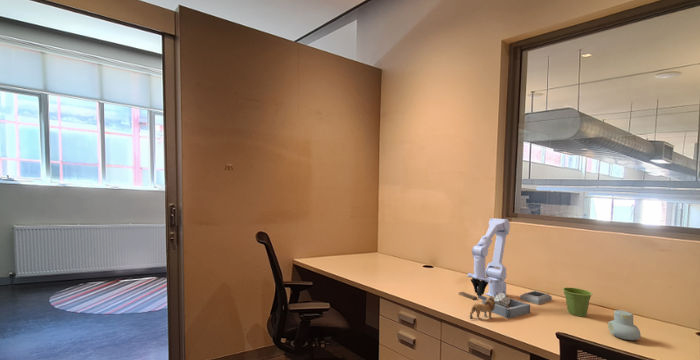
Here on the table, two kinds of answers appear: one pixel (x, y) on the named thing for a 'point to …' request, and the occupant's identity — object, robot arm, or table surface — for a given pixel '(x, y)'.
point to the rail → (467, 295)
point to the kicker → (479, 294)
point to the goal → (511, 309)
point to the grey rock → (502, 299)
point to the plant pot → (577, 301)
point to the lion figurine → (483, 308)
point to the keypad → (536, 297)
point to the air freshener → (623, 326)
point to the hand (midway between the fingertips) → (479, 293)
